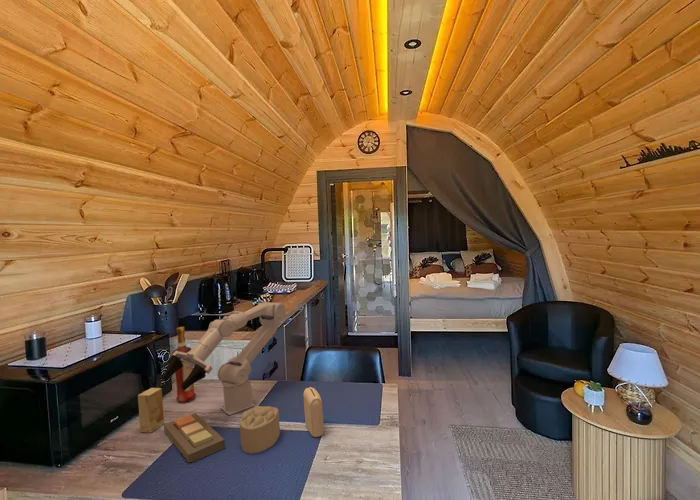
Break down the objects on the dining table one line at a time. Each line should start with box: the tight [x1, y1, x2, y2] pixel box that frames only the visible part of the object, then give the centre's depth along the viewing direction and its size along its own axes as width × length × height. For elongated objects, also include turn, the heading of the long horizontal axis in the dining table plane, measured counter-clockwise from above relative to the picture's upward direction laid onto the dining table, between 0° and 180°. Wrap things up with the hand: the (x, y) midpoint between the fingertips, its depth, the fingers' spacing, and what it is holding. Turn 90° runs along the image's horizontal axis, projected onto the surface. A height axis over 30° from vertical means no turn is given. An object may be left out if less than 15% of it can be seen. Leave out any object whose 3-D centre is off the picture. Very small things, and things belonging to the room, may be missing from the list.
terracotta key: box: [173, 414, 196, 430], centre depth 118 cm, size 5×5×2 cm
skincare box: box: [137, 387, 165, 433], centre depth 122 cm, size 6×4×12 cm
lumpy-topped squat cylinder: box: [239, 405, 281, 455], centre depth 110 cm, size 10×13×9 cm
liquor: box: [171, 326, 197, 403], centre depth 142 cm, size 7×7×28 cm
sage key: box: [189, 430, 212, 448], centre depth 108 cm, size 5×5×2 cm
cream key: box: [181, 422, 204, 439], centre depth 113 cm, size 5×5×2 cm
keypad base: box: [163, 412, 226, 464], centre depth 113 cm, size 10×24×2 cm, turn 41°
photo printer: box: [302, 386, 325, 438], centre depth 114 cm, size 10×4×12 cm, turn 20°
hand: (173, 383), depth 112 cm, fingers open, 7 cm apart
